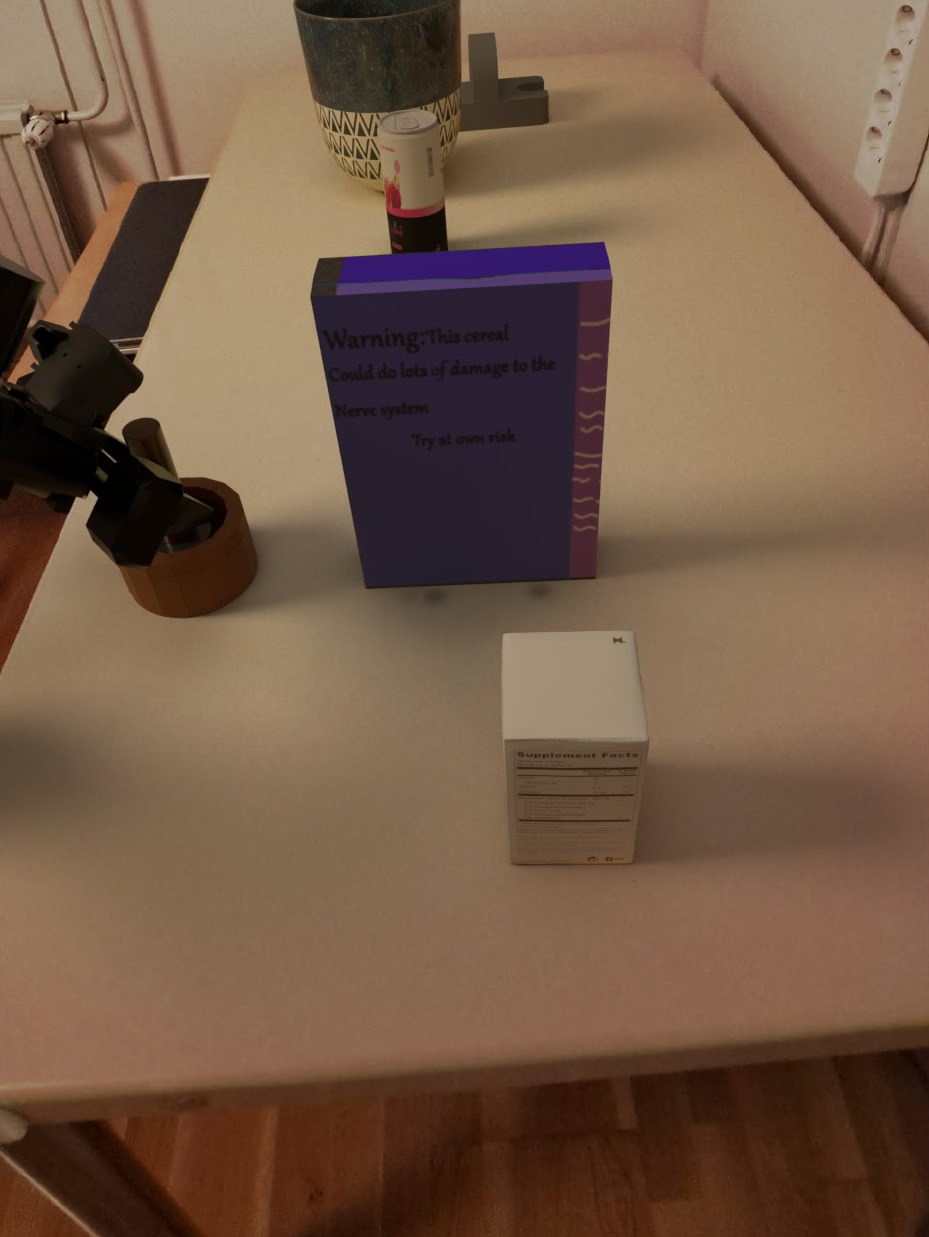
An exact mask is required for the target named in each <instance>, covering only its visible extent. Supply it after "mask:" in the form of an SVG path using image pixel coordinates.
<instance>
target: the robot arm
mask: <svg viewBox="0 0 929 1237" xmlns="http://www.w3.org/2000/svg"><path fill="white" fill-rule="evenodd" d="M46 284H47V282H46V280H44V279H43V278H42V277H40V276H39V275H38V274H36V273H34V272H33V271H31V270H30V269H28V268H26V267H24V266H23V265H21V264H20V263H17V262H15V261H14V260H11V259H10V258H8V257H6V256H4V255H2V254H0V380H1V379H2V377H3V373H6V372H9V371H10V370H11V368H12V365H13V362H14V359H15V357H16V355H17V353H18V350H19V348H20V346H21V344H22V340H23V338H24V336H25V339H26V342H27V343H28V346H29V349H30V351H31V353H32V356H33V358H34V360H35V361H36V362H37V363H36V362H35V361H33V362H32V363H31V364H30V365H29V368H31V369H32V370H33V371H31V372H29V373H26V374H25V375H21V376H20V377H18V378H17V379H16V382H15V383H13V382H10V381H7V380H4V381H2V383H0V500H4V501H8V500H9V497H10V496H11V493H12V492H14V493H18V494H22V495H26V496H31V497H35V498H39V499H41V500H42V501H43V502H44V503H45V504H46V506H48V507H49V508H50V509H51V510H52V511H53V512H55V513H58V514H63V515H69V513H70V511H71V509H72V507H73V505H74V502H75V500H76V499H77V498H78V499H83V500H87V498H88V497H89V495H90V493H92V494H93V495H94V496H95V497H96V498H97V499H96V501H95V503H94V505H93V507H92V510H91V511H90V514H89V516H88V519H87V521H86V523H85V528H86V530H87V532H88V535H89V537H90V539H91V541H92V542H93V543H94V544H95V545H96V546H97V547H98V548H99V549H100V550H101V551H102V552H103V553H104V554H105V555H106V556H107V557H108V558H109V559H110V560H111V561H112V562H113V563H114V564H115V565H116V566H117V567H118V566H122V567H127V568H132V569H138V570H144V569H146V568H149V567H150V566H151V564H152V562H153V560H154V558H155V555H156V553H157V551H158V549H159V547H160V545H161V543H162V541H163V539H164V537H166V536H169V535H172V534H175V533H178V532H181V531H184V530H188V529H191V528H194V527H197V526H200V525H203V524H207V523H209V522H210V520H211V518H212V516H213V514H214V509H213V508H212V507H210V506H208V505H206V504H204V503H203V502H201V501H199V500H197V499H195V498H193V497H191V496H189V495H187V494H185V493H183V484H182V483H180V482H179V481H178V480H177V479H176V478H175V477H173V476H172V474H171V473H170V472H169V471H168V470H167V469H166V468H165V467H163V466H162V465H161V464H160V463H159V462H157V461H156V460H155V459H154V458H153V457H151V458H150V460H147V459H145V458H142V457H139V456H135V455H130V453H129V451H128V448H127V445H126V443H125V441H124V440H122V439H120V438H118V437H116V436H115V435H113V434H112V433H110V432H108V431H107V430H105V428H104V425H103V423H104V422H105V421H106V420H108V418H109V417H110V416H111V415H112V414H113V413H114V412H115V411H116V410H117V409H118V408H119V407H120V405H121V404H122V403H123V402H124V401H125V400H126V399H127V397H128V396H130V395H131V394H135V393H136V392H137V391H138V390H139V389H140V387H141V386H142V384H143V382H144V377H145V376H144V372H143V371H142V370H141V369H140V368H139V367H137V365H136V364H135V363H134V362H132V361H131V360H130V359H129V358H128V357H127V356H126V355H125V354H124V353H123V352H122V351H121V350H120V349H119V348H118V347H117V346H116V345H115V344H114V343H113V342H111V341H110V340H109V339H108V338H107V337H105V335H103V334H101V333H100V332H98V330H96V329H95V328H93V327H92V326H91V325H89V324H87V323H80V324H78V323H76V322H75V321H74V320H71V321H70V322H69V324H68V327H70V328H71V329H69V328H68V327H66V326H64V325H62V324H58V323H54V322H52V321H51V322H50V321H47V320H44V319H39V320H37V321H36V322H35V323H34V325H32V327H30V329H29V330H28V331H27V329H28V327H29V324H30V322H31V320H32V317H33V314H34V312H35V310H36V307H37V305H38V302H39V300H40V299H41V296H42V293H43V290H44V288H45V285H46Z"/></svg>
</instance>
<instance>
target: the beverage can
mask: <svg viewBox="0 0 929 1237" xmlns="http://www.w3.org/2000/svg"><path fill="white" fill-rule="evenodd" d="M378 126H379V127H378V128H377V134H378V142H379V151H380V159H381V168H382V176H383V185H384V202H385V209H386V217H387V226H388V234H389V243H390V253H391V254H401V253H418V252H435V251H449V242H448V240H449V239H448V227H447V214H446V201H445V185H444V172H443V167H442V157H441V143H440V129H439V123H438V122H437V116H436V115H435V114H434V113H432V112H429V111H426V110H417V109H411V110H401V111H396V112H392V113H389V114H386V115H384V116H383V117H381V118H380V119H379V120H378Z"/></svg>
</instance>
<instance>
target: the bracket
mask: <svg viewBox="0 0 929 1237" xmlns="http://www.w3.org/2000/svg"><path fill="white" fill-rule="evenodd" d="M496 40H497V39H496V34H495V31H493V32H481V33H480V32H479V33H469V34H468V35H467V52H468V54H467V56H468V72H469V80H468V81H467V80H466V81H461V119H460V126H459V131H458V132H469V131H480V130H491V129H493V130H494V129H503V128H504V129H505V128H514V127H515V128H517V127H527V126H540V125H546V124H548V123H549V116H550V115H549V113H550V112H549V109H550V108H549V100H550V99H549V98H550V97H549V96H550V95H549V91H548V89H545V79H544V77H543V76H540V75H527V76H514V77H503V78H499V63H498V62H499V61H498V60H499V59H498V48H497V41H496Z"/></svg>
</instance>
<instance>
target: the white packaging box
mask: <svg viewBox="0 0 929 1237" xmlns="http://www.w3.org/2000/svg"><path fill="white" fill-rule="evenodd" d="M638 647H639V646H638V641H637V632H636V631H635V630H584V631H583V630H582V631H581V630H580V631H540V632H539V631H537V632H536V631H533V632H532V631H531V632H507V633H503V635H502V644H501V673H500V710H501V711H500V712H501V738H502V753H503V754H502V755H503V772H504V774H503V776H504V790H505V791H504V792H505V793H504V794H505V808H506V810H505V812H506V824H507V826H506V827H507V842H508V859H509V860H508V861H509V863H510V864H518V865H519V864H520V865H521V864H522V865H523V864H524V865H540V864H541V865H609V864H613V865H614V864H615V865H616V864H617V865H620V864H631V863H632V862H633V860H634V853H635V844H636V837H637V836H636V835H637V832H638V824H639V823H638V822H639V817H640V812H641V811H640V810H641V805H642V804H641V803H642V796H643V789H644V784H645V777H646V770H647V764H648V757H649V747H650V746H649V745H650V731H649V723H648V715H647V709H646V707H647V706H646V701H645V694H644V684H643V676H642V671H641V664H640V656H639V648H638Z"/></svg>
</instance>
